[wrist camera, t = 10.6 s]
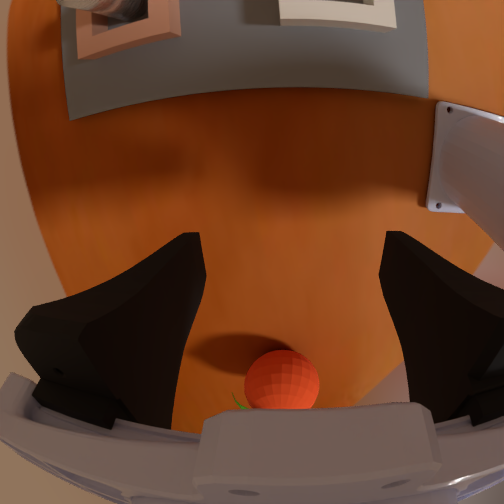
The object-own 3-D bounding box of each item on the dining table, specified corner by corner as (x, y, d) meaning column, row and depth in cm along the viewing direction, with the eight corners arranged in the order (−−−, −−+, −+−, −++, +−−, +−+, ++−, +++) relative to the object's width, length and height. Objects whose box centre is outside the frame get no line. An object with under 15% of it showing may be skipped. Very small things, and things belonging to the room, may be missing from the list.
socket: (177, -43, 11) (166, -54, 9) (181, 36, 14) (169, 31, 12) (92, -15, 11) (76, -21, 10) (94, 59, 15) (77, 59, 13)
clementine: (240, 375, 31) (232, 432, 25) (233, 333, 27) (222, 397, 21) (314, 376, 30) (316, 433, 24) (320, 333, 27) (325, 399, 21)
